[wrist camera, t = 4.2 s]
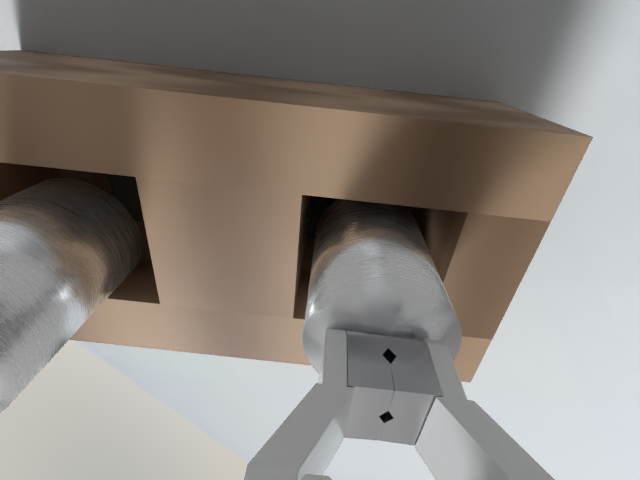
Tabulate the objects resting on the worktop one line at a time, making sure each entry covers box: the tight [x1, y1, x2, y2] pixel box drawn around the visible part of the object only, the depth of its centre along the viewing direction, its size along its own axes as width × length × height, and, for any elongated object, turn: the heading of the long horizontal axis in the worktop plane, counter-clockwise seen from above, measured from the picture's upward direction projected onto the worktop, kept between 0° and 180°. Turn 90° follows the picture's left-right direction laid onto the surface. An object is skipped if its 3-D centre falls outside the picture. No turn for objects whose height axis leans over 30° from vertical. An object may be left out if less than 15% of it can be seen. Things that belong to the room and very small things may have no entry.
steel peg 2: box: [303, 199, 462, 373], centre depth 11 cm, size 4×4×6 cm
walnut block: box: [0, 50, 593, 382], centre depth 14 cm, size 20×10×6 cm, turn 85°
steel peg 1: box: [0, 178, 143, 412], centre depth 9 cm, size 4×4×6 cm
